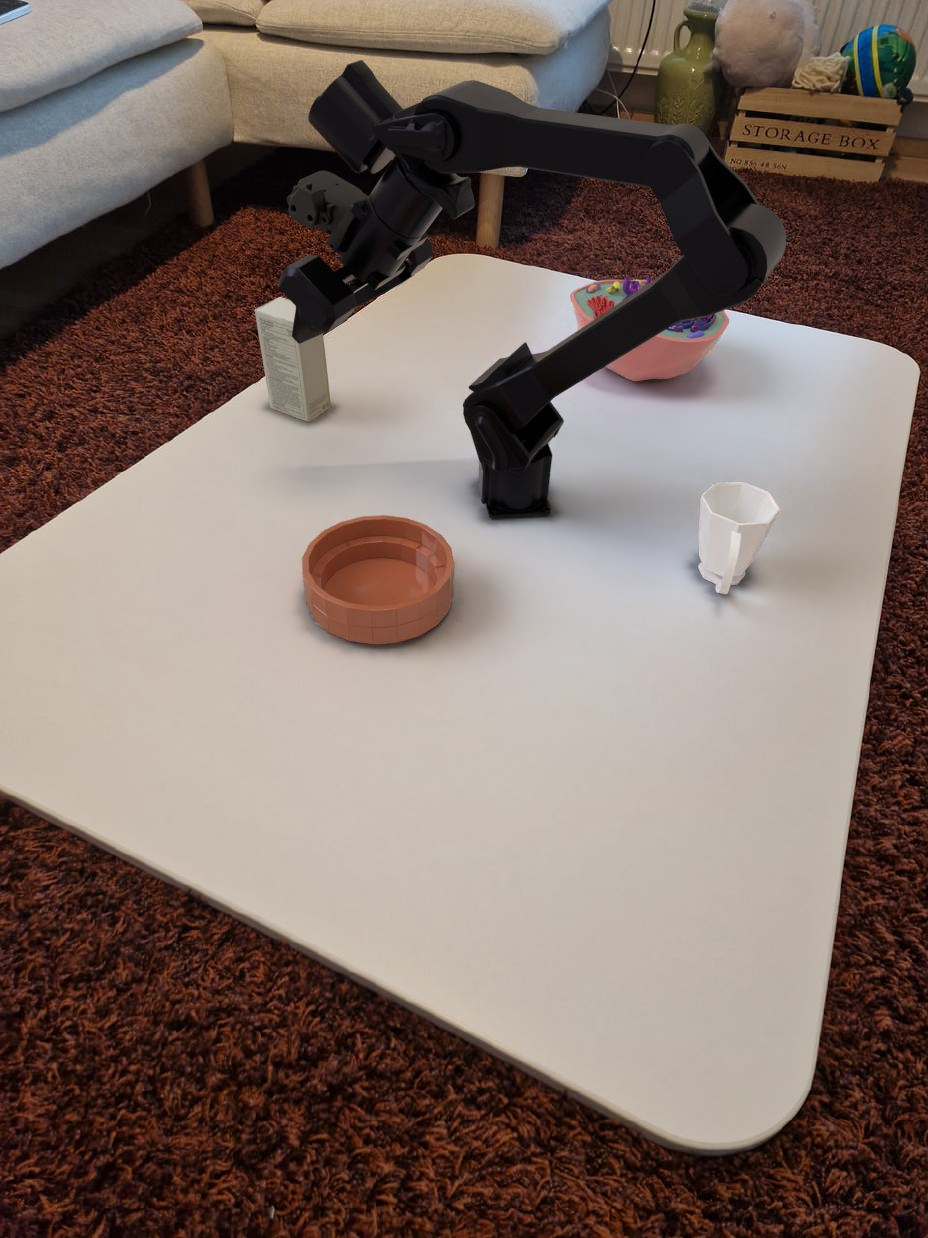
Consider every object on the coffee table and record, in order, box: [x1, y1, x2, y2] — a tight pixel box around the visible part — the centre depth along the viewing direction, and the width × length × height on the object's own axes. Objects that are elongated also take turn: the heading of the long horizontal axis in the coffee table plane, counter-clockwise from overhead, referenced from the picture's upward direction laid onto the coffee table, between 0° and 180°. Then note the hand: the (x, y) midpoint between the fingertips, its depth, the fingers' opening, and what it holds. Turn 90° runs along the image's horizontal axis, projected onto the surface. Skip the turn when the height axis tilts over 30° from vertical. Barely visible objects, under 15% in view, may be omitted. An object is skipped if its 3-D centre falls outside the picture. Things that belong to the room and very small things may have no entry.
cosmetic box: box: [254, 296, 332, 423], centre depth 104 cm, size 6×4×12 cm
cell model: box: [569, 276, 730, 382], centre depth 114 cm, size 17×20×11 cm
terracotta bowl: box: [301, 514, 455, 645], centre depth 82 cm, size 13×13×4 cm
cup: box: [697, 481, 782, 595], centre depth 84 cm, size 7×10×8 cm
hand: (322, 322), depth 93 cm, fingers open, 9 cm apart
